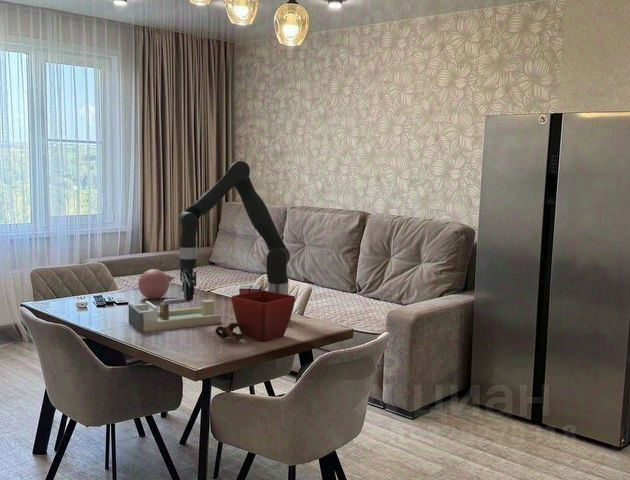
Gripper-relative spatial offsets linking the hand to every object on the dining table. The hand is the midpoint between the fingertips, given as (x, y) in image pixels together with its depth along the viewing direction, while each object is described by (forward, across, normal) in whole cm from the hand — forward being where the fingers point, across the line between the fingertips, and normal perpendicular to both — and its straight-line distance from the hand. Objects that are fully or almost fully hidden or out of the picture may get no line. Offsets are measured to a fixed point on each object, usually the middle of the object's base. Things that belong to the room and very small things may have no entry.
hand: (188, 293), depth 281 cm
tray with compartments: (+13, 0, +5) cm, 14 cm away
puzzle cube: (+13, +14, -37) cm, 42 cm away
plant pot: (+13, -37, -19) cm, 44 cm away
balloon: (+13, +52, -2) cm, 54 cm away
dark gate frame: (+11, 0, +5) cm, 12 cm away
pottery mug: (+13, -37, -4) cm, 40 cm away
